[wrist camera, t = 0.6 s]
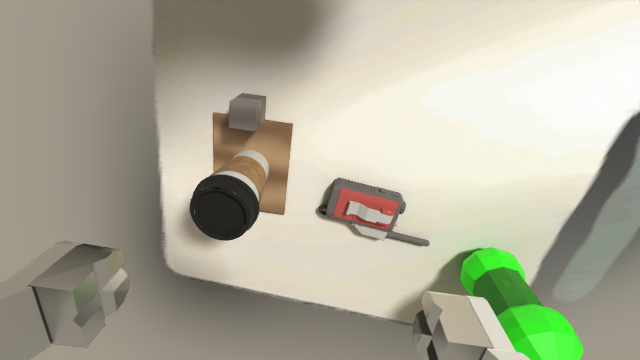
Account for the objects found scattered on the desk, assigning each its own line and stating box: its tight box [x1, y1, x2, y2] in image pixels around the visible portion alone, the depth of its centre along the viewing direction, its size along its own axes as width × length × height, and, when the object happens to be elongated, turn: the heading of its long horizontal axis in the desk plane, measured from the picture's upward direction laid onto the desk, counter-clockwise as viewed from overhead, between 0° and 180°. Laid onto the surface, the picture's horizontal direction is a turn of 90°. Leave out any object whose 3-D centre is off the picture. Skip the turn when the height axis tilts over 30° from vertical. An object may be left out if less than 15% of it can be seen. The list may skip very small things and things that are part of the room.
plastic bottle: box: [460, 248, 583, 360], centre depth 46 cm, size 10×10×25 cm
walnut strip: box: [213, 93, 293, 215], centre depth 48 cm, size 20×12×6 cm, turn 173°
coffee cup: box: [190, 150, 269, 240], centre depth 45 cm, size 8×8×15 cm
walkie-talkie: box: [319, 178, 429, 246], centre depth 53 cm, size 9×4×20 cm
